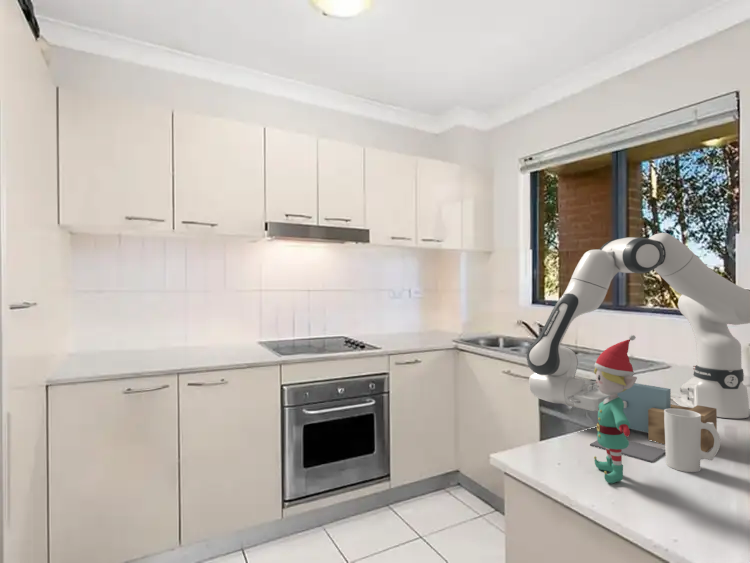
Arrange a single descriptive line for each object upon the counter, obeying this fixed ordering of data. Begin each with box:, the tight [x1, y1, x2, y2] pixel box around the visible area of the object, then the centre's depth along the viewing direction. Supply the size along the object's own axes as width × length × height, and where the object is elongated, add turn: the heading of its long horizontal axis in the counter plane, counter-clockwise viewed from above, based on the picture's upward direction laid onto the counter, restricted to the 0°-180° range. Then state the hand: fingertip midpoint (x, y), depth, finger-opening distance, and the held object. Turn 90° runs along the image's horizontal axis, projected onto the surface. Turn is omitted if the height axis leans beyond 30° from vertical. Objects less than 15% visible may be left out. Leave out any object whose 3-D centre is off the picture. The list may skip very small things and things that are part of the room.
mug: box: [664, 409, 721, 473], centre depth 97 cm, size 10×7×12 cm, turn 45°
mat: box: [589, 440, 666, 463], centre depth 109 cm, size 14×10×1 cm
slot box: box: [647, 404, 718, 452], centre depth 113 cm, size 12×10×9 cm
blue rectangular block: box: [618, 382, 672, 434], centre depth 120 cm, size 12×3×12 cm, turn 39°
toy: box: [593, 334, 638, 484], centre depth 94 cm, size 17×8×30 cm, turn 167°
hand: (630, 403), depth 123 cm, fingers closed on blue rectangular block, 3 cm apart
